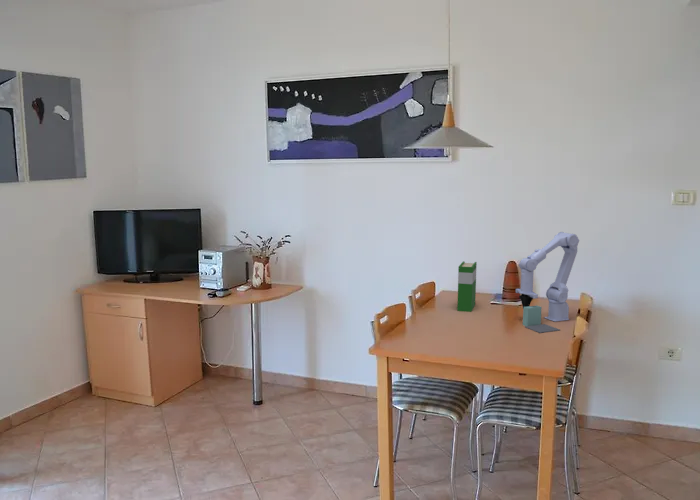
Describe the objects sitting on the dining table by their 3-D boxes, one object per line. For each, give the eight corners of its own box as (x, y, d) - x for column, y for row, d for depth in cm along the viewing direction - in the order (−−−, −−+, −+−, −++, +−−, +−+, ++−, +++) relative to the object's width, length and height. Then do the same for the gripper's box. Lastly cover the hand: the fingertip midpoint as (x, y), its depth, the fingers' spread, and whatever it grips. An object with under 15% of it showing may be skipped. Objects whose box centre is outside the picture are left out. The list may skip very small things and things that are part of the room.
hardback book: (461, 303, 341) (463, 261, 337) (475, 304, 338) (476, 262, 335) (457, 310, 324) (458, 266, 321) (471, 312, 322) (472, 267, 318)
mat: (544, 324, 297) (544, 323, 297) (560, 330, 287) (560, 329, 287) (524, 327, 292) (524, 326, 292) (539, 333, 282) (539, 332, 282)
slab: (535, 323, 300) (536, 305, 299) (540, 325, 296) (541, 307, 295) (522, 324, 297) (523, 306, 296) (527, 326, 293) (528, 308, 292)
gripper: (511, 280, 303) (510, 307, 305) (529, 286, 290) (528, 313, 292) (522, 279, 306) (521, 306, 308) (541, 285, 293) (540, 312, 295)
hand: (525, 309), depth 300 cm, fingers closed
